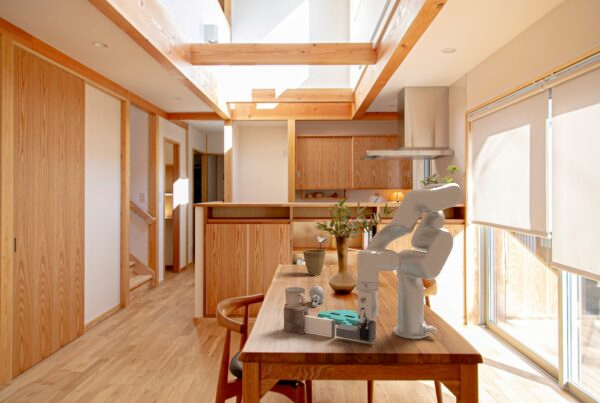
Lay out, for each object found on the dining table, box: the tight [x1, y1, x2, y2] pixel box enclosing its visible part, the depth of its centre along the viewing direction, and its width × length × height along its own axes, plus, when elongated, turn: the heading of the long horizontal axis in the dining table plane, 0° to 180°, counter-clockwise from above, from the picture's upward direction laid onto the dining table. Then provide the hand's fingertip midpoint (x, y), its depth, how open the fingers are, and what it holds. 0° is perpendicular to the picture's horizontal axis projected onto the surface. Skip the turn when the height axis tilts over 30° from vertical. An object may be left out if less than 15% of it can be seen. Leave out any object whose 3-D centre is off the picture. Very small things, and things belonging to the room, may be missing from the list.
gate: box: [304, 315, 336, 338], centre depth 142 cm, size 13×2×6 cm, turn 64°
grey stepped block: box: [335, 320, 377, 344], centre depth 135 cm, size 13×5×6 cm, turn 64°
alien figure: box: [317, 309, 365, 326], centre depth 158 cm, size 20×2×20 cm
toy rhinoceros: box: [308, 285, 325, 308], centre depth 182 cm, size 7×12×8 cm, turn 165°
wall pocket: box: [283, 303, 309, 335], centre depth 146 cm, size 8×5×9 cm, turn 64°
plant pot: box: [302, 249, 326, 276], centre depth 251 cm, size 15×15×16 cm
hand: (366, 336), depth 134 cm, fingers closed on grey stepped block, 5 cm apart
